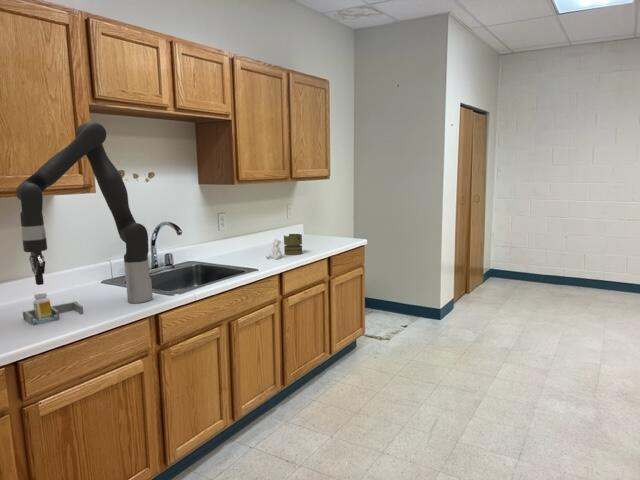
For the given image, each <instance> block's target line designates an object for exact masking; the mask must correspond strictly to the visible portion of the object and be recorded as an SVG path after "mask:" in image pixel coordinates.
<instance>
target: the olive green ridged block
mask: <svg viewBox="0 0 640 480" xmlns="http://www.w3.org/2000/svg"><path fill="white" fill-rule="evenodd" d="M302 235H303V234H301V233H289V234H288V235H283V245H284V246H283V249H284V250H283V251H284V255H285V256H301V255H303V245H302V244H303V236H302Z"/></svg>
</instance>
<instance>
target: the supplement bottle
mask: <svg viewBox="0 0 640 480" xmlns="http://www.w3.org/2000/svg"><path fill="white" fill-rule="evenodd" d="M47 296H48V295H47V292H44V293H43V292H42V293H38V294H37V293H36V294H34V299H35V300H33V303H32V304H33V310H34V311H35V317H36V318H35V319H37V321H42V320H47V319H51V318H53V316H52V312H51V306H52V305H51V300H50V298H47Z"/></svg>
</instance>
